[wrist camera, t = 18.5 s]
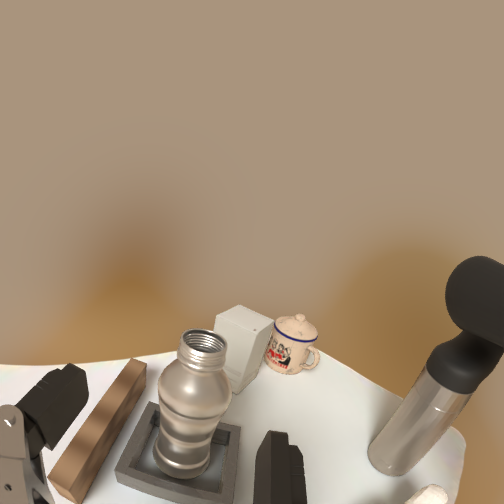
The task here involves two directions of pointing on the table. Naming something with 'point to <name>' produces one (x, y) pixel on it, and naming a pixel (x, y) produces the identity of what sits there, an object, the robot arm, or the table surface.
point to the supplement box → (243, 343)
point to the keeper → (189, 498)
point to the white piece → (429, 496)
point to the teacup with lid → (291, 345)
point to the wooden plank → (98, 434)
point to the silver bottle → (191, 403)
